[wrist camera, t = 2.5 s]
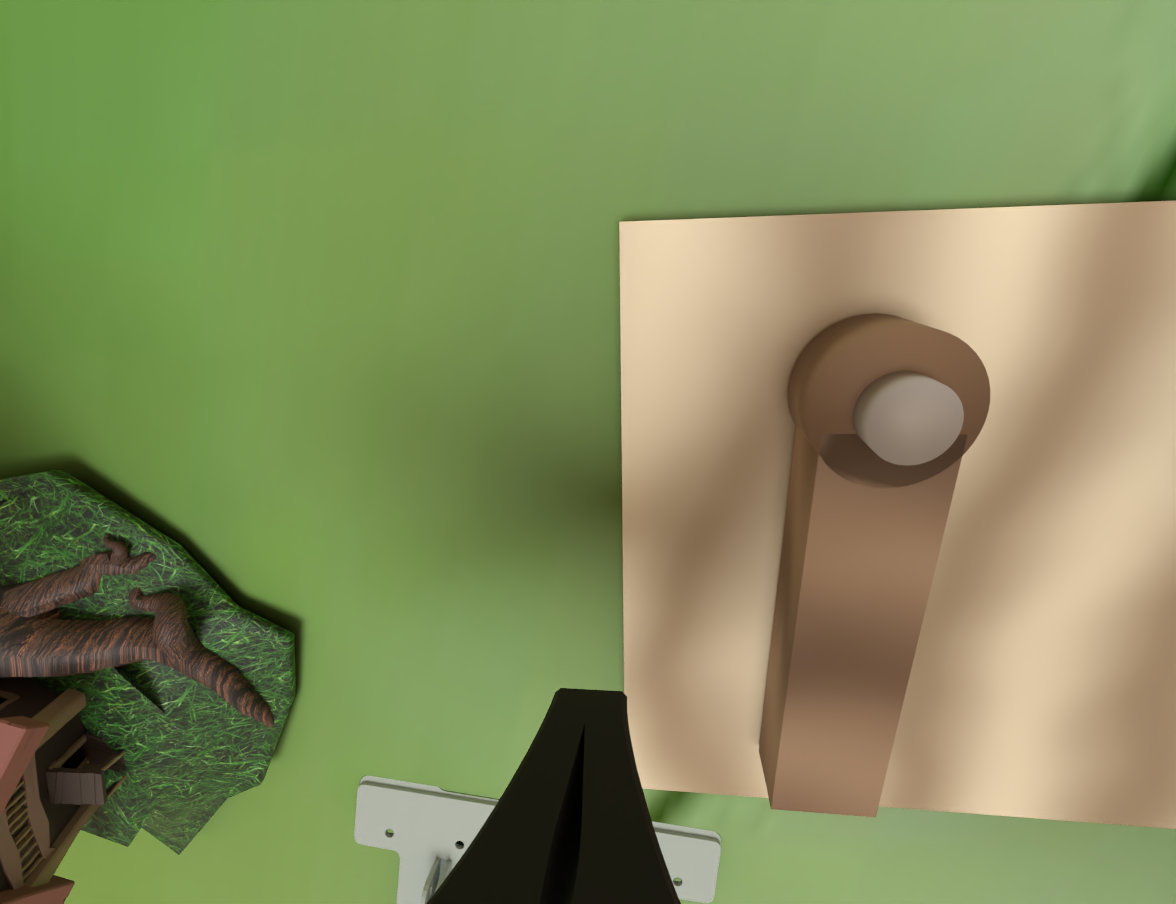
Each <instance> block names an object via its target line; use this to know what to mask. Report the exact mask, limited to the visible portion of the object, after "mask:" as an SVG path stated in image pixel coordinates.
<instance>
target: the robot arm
mask: <svg viewBox="0 0 1176 904" xmlns="http://www.w3.org/2000/svg"><path fill="white" fill-rule="evenodd" d="M426 904H681V903H680V901H679V898H678V895H677V893H676V890H675V888H674V885H673V882H672V880H671V877H670V874H669V871H668V869H667V866H666V863H665V860H664V857H663V854H662V851H661V848H660V845H659V842H658V839H657V836H656V833H655V830H654V827H653V824H652V821H651V817H650V814H649V811H648V808H647V804H646V800H645V797H644V793H643V789H642V786H641V782H640V778H639V774H638V771H637V766H636V762H635V758H634V753H633V748H632V742H631V737H630V731H629V724H628V714H627V696H626V695H625V694H624V693H623V692H622V691H604V690H585V689H567V688H560V689H559V690H558V691H557V692H555V695H554V697H553V700H552V703H551V705H550V707H549V709H548V712H547V714H546V716H545V718H544V720H543V722H542V725H541V727H540V729H539V731H538V733H537V734H536V736H535V738H534V740H533V742H532V744H531V746H530V748H529V750H528V752H527V753H526V755H525V757H524V759H523V760H522V762H521V764H520V766H519V768H518V769H517V771H516V773H515V775H514V776H513V778H512V780H511V782H510V783H509V785H508V787H507V788H506V790H505V792H504V793H503V795H502V796H501V798H500V800H499V801H498V803H497V804H496V806H495V807H494V809H493V810H492V812H491V814H490V815H489V817H488V818H487V820H486V821H485V823H484V825H483V826H482V828H481V829H480V831H479V832H478V834H477V835H476V837H475V838H474V840H473V841H472V843H471V844H470V845H469V847H468V848H467V850H466V851H465V853H464V854H463V855H462V857H461V858H460V860H459V861H458V862H457V864H456V865H455V867H454V868H453V869H452V871H451V872H450V873H449V875H448V876H447V877H446V879H445V880H444V881H443V883H442V884H441V885H440V887H439V888H438V889H437V891H436V892H435V893H434V895H433V896H432V897H431V898H430V900H429V901H428V902H427V903H426Z"/></svg>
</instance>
